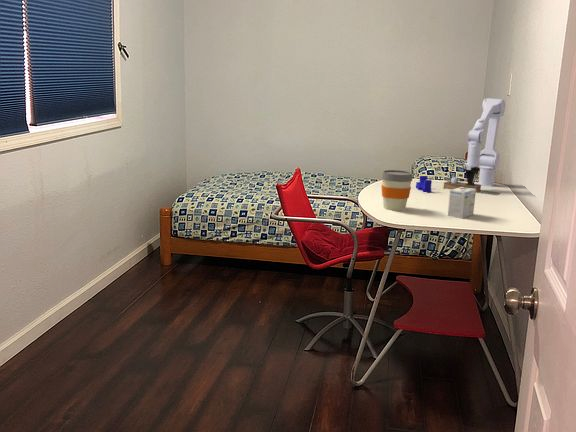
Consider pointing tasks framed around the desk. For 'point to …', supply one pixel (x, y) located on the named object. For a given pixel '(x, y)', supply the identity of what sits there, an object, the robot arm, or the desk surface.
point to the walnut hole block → (460, 185)
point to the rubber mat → (490, 193)
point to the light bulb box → (461, 202)
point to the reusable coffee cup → (395, 189)
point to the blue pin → (454, 180)
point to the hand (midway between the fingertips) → (470, 183)
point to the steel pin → (473, 181)
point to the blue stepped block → (424, 184)
